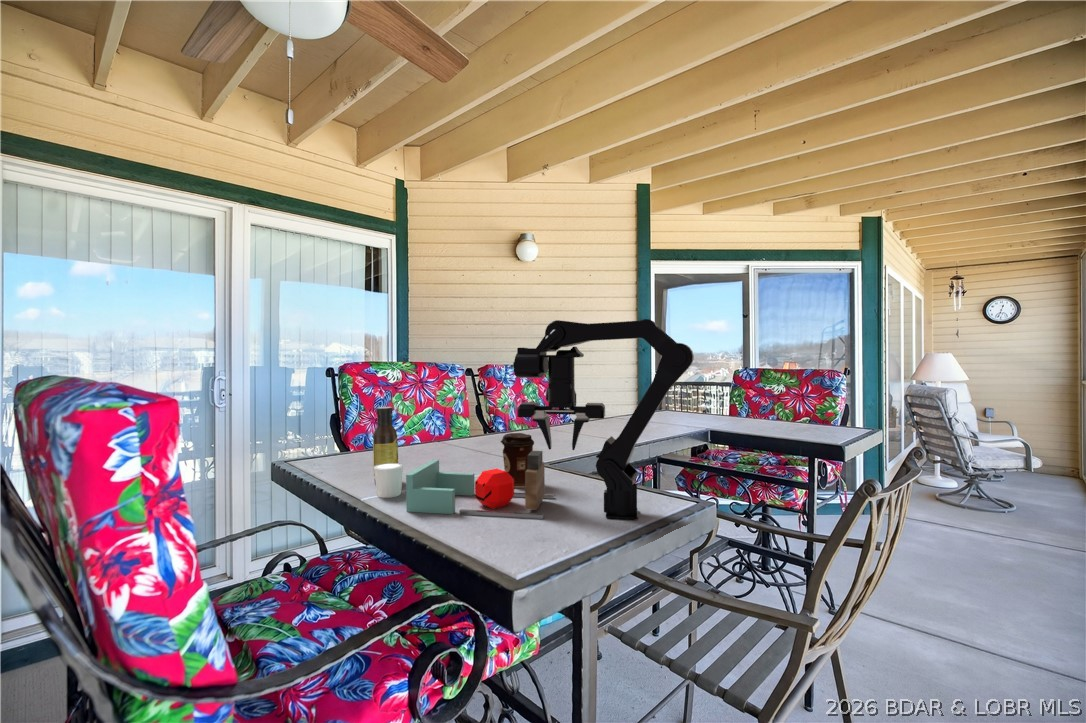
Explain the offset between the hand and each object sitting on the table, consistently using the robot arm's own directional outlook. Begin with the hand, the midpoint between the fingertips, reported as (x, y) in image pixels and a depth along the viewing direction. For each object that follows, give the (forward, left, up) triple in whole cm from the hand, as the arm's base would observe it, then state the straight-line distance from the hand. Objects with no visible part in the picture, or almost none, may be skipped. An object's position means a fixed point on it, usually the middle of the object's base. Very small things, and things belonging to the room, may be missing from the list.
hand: (561, 449), depth 109 cm
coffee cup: (+14, -17, -13) cm, 26 cm away
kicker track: (+12, 0, -13) cm, 18 cm away
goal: (+27, 0, -13) cm, 30 cm away
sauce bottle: (+49, -14, -13) cm, 53 cm away
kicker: (+6, 0, -13) cm, 14 cm away
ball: (+15, 0, -13) cm, 20 cm away
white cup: (+43, -4, -13) cm, 45 cm away
